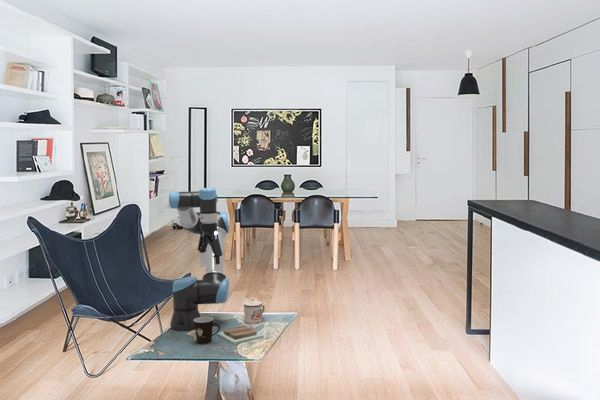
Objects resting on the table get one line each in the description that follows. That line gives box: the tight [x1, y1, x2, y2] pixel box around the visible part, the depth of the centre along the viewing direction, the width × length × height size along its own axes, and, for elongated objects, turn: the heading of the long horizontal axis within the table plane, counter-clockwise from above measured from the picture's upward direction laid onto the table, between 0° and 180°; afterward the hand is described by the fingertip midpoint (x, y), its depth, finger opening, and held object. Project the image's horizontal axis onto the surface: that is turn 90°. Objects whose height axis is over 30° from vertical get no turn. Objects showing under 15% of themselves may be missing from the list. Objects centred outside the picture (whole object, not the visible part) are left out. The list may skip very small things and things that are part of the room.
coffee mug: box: [194, 316, 221, 345], centre depth 258 cm, size 12×9×10 cm
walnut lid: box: [223, 325, 258, 340], centre depth 266 cm, size 11×11×2 cm
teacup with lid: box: [243, 297, 266, 324], centre depth 289 cm, size 12×9×12 cm
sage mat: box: [216, 331, 265, 345], centre depth 266 cm, size 16×15×1 cm
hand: (210, 268), depth 266 cm, fingers open, 13 cm apart
